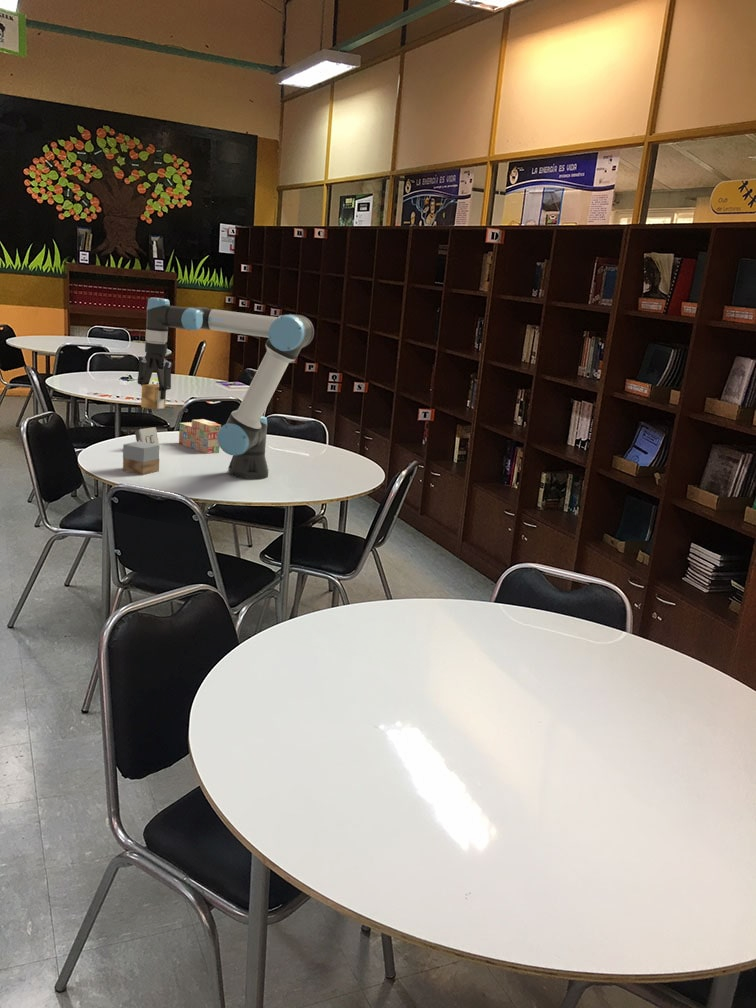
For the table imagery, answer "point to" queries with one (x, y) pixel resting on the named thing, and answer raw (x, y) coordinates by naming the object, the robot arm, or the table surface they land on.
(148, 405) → the ochre block
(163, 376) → the robot arm
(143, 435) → the electrical switch
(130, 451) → the tower top block
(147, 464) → the tower bottom block
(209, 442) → the stack of blocks
